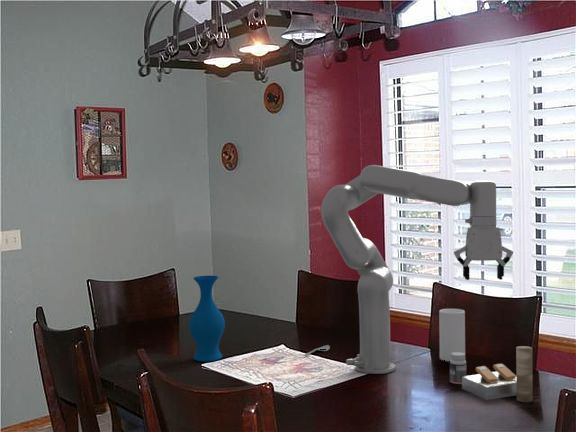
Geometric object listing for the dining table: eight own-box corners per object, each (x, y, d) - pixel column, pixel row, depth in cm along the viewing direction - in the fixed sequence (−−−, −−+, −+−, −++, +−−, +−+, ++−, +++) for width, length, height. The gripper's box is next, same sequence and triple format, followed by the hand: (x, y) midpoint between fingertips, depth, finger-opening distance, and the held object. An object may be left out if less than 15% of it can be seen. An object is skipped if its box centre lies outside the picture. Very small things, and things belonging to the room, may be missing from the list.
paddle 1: (488, 382, 180) (489, 379, 180) (475, 370, 186) (476, 366, 185) (497, 381, 181) (498, 378, 181) (484, 368, 187) (484, 365, 186)
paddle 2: (506, 379, 183) (507, 376, 182) (492, 367, 188) (493, 364, 187) (515, 378, 184) (515, 375, 183) (501, 366, 189) (502, 363, 188)
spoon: (333, 350, 236) (333, 345, 236) (296, 362, 220) (296, 358, 220) (323, 348, 239) (323, 344, 239) (287, 361, 223) (287, 356, 223)
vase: (232, 355, 230) (230, 275, 229) (213, 365, 218) (211, 280, 217) (202, 352, 235) (200, 274, 234) (182, 361, 223) (180, 279, 222)
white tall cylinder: (465, 362, 215) (465, 313, 215) (440, 361, 217) (439, 312, 216) (464, 355, 223) (464, 308, 223) (439, 355, 225) (438, 308, 224)
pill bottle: (447, 379, 196) (447, 352, 196) (463, 379, 197) (462, 351, 196) (452, 384, 192) (452, 356, 191) (468, 383, 192) (468, 355, 192)
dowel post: (523, 403, 174) (523, 350, 174) (513, 398, 178) (513, 347, 177) (535, 401, 176) (535, 348, 175) (525, 396, 179) (525, 345, 179)
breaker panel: (487, 400, 177) (487, 383, 177) (462, 388, 187) (461, 373, 187) (528, 393, 182) (528, 377, 182) (502, 382, 193) (502, 367, 192)
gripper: (456, 223, 195) (456, 281, 195) (516, 222, 194) (516, 280, 194) (451, 221, 202) (451, 277, 203) (509, 221, 201) (509, 277, 202)
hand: (483, 279), depth 199 cm, fingers open, 9 cm apart
